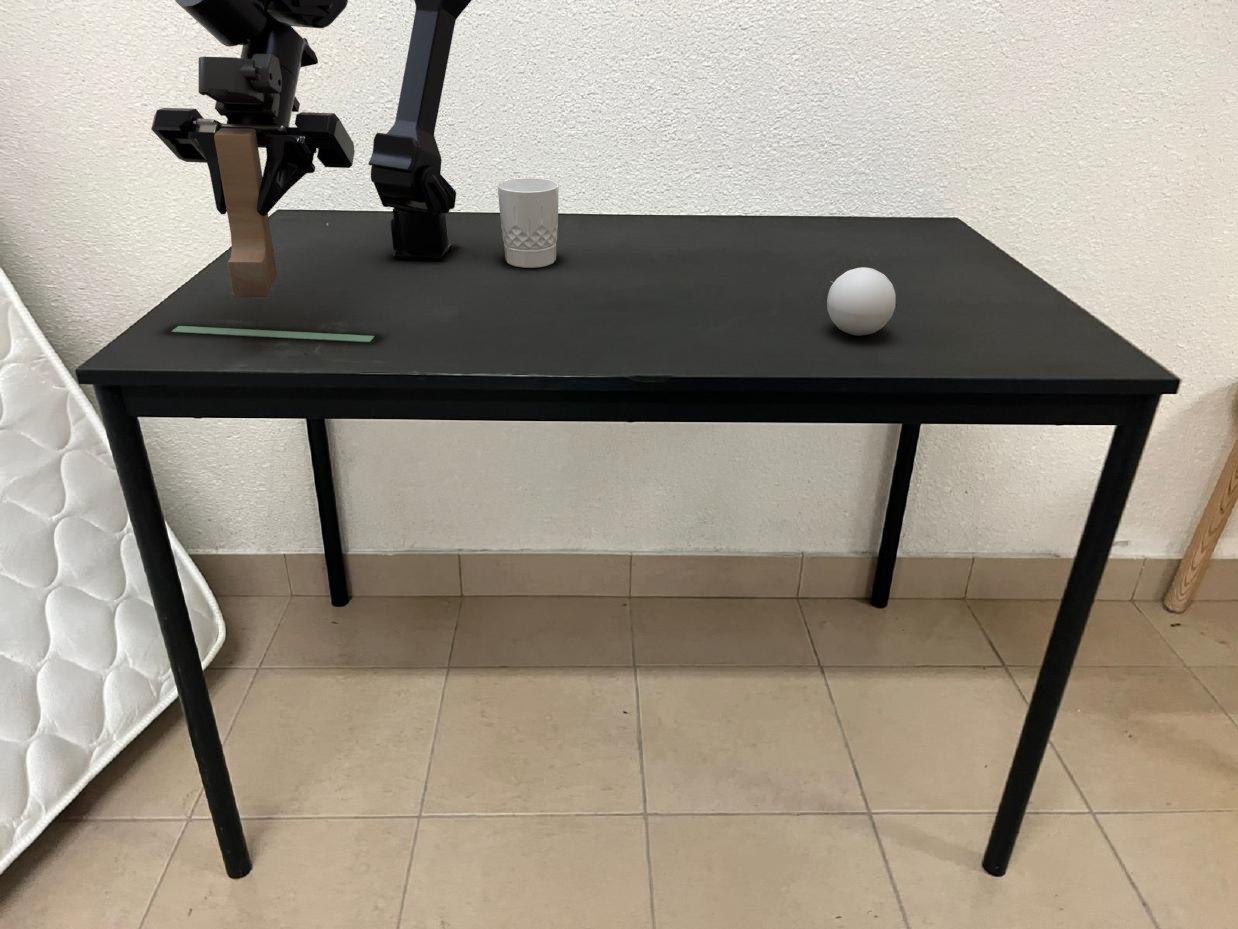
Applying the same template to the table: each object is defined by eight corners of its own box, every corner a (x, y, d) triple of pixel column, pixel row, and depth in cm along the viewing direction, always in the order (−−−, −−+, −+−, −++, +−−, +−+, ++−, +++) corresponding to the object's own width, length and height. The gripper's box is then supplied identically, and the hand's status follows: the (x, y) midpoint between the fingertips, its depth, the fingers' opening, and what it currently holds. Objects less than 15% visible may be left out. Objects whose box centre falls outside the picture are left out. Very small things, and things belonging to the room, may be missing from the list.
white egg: (901, 344, 97) (914, 279, 93) (836, 347, 96) (846, 281, 92) (865, 311, 105) (876, 249, 101) (805, 313, 104) (813, 252, 100)
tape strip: (374, 336, 96) (374, 335, 96) (369, 342, 95) (369, 341, 95) (179, 326, 98) (178, 325, 98) (171, 332, 96) (171, 331, 96)
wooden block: (245, 276, 94) (220, 127, 87) (277, 276, 95) (255, 128, 87) (233, 298, 89) (205, 141, 81) (267, 297, 90) (243, 141, 82)
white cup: (490, 265, 118) (485, 187, 113) (518, 248, 124) (515, 174, 119) (544, 273, 115) (542, 194, 110) (569, 255, 121) (568, 180, 116)
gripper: (135, 17, 85) (100, 163, 81) (326, 22, 83) (298, 170, 80) (196, 93, 96) (167, 225, 92) (366, 98, 94) (343, 232, 90)
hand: (240, 213), depth 88 cm, fingers closed on wooden block, 4 cm apart
